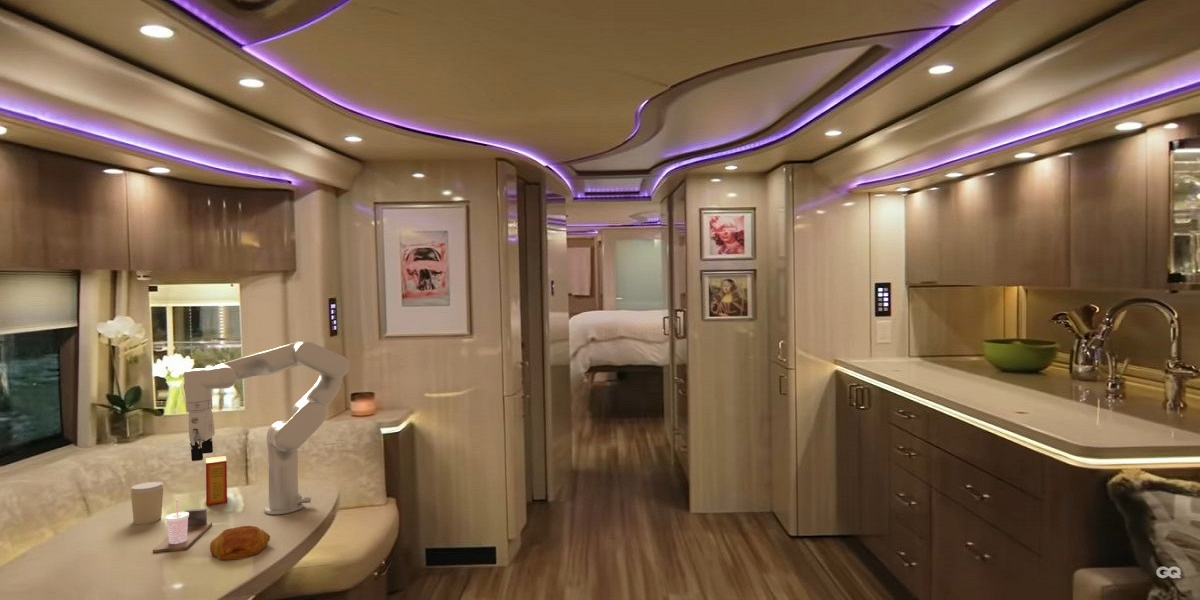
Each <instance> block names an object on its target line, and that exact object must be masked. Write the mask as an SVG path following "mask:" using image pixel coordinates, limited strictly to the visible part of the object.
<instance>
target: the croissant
mask: <svg viewBox="0 0 1200 600" xmlns="http://www.w3.org/2000/svg"><path fill="white" fill-rule="evenodd" d="M270 536H271V535H270V534H268V532H266V531H265V530H264V529H261V528H259V527H258V526H254V525H253V526H252V525H241V526H238V527H232V528H228V529H227V528H226V529H225V530H223V531H222V532H221V533H220V534H218V536H217V537H215V538H213V539H212V540H211V542H210V545H209V551H210V554H211V555H212V557H214V556H215V558H217V557H219V558H218V559H219V561H233V560H240V559H245V557H246V558H249V557H251V556H254V555H257V554H258V553H259V554H260V553H262V551H263V550H264V549H265V548H266V547H267V545H268V544H269V542H270V540H271V539H270V538H271V537H270ZM248 556H249V557H248Z"/></svg>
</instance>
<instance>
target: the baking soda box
mask: <svg viewBox="0 0 1200 600" xmlns="http://www.w3.org/2000/svg"><path fill="white" fill-rule="evenodd" d="M227 463H228V462H227V456H226V455H221V456H212V457H210V456H209V457H205V490H206V491H205V496H206V500H205V501H206V504H205V505H206V507H209V506H216V505H223V504H227V503H228V485H227V484H228V472H227V470H228V468H227V467H228V466H227Z"/></svg>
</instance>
